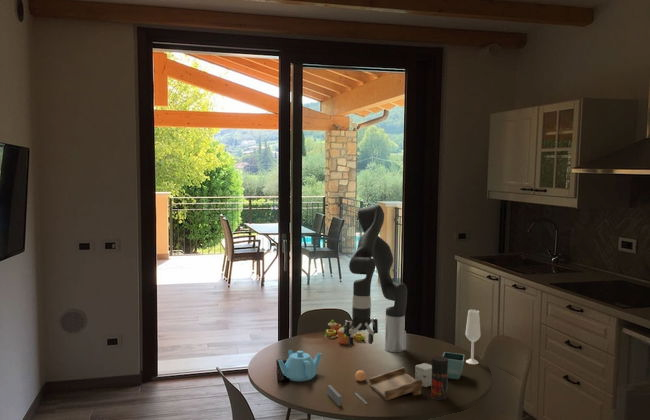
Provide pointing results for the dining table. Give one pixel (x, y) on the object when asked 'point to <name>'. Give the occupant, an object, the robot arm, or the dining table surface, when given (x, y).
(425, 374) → the skincare box
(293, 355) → the teapot
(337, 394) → the rail
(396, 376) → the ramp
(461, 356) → the flower pot
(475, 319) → the champagne flute
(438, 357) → the deodorant
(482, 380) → the dining table surface
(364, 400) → the grey thin rod
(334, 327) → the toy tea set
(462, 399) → the dining table surface
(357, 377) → the ball
